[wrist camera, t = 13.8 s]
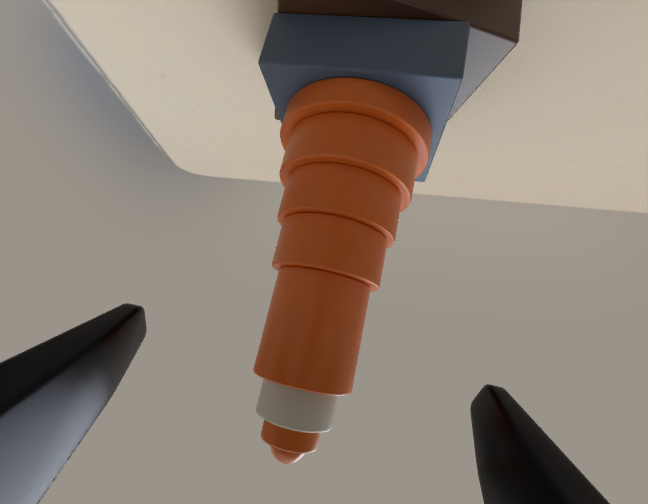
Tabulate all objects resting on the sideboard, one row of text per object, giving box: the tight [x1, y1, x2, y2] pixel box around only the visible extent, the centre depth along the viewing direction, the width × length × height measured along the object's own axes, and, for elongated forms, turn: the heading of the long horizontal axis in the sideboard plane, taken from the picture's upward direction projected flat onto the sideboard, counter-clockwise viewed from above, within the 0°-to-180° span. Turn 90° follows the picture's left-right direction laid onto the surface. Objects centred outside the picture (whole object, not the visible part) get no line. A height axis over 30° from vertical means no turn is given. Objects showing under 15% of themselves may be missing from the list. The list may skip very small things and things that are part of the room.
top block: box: [259, 13, 470, 182], centre depth 13 cm, size 7×7×2 cm
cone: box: [254, 77, 432, 464], centre depth 12 cm, size 6×6×12 cm
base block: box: [275, 0, 522, 121], centre depth 14 cm, size 8×8×2 cm
